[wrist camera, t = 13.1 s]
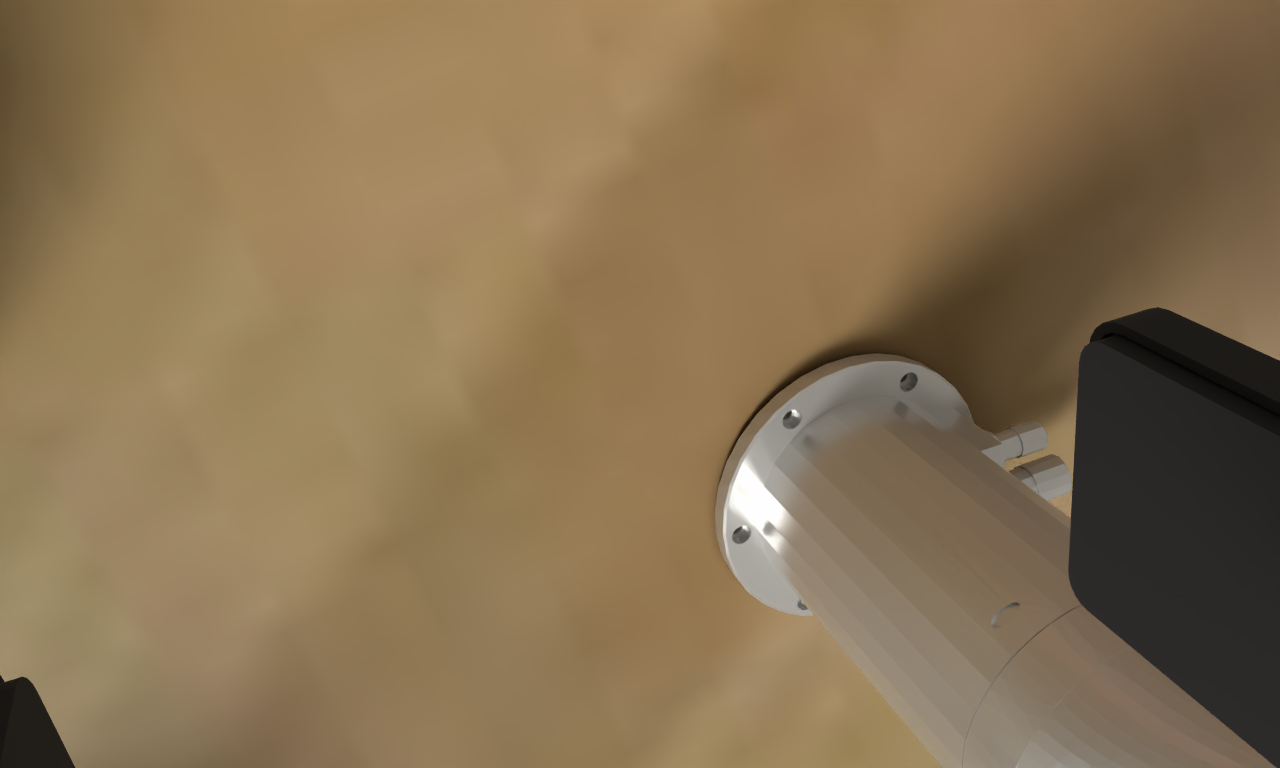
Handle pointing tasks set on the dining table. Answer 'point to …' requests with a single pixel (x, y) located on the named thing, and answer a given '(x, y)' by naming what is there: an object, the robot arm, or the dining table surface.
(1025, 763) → the robot arm
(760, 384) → the dining table surface
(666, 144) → the dining table surface
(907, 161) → the dining table surface
